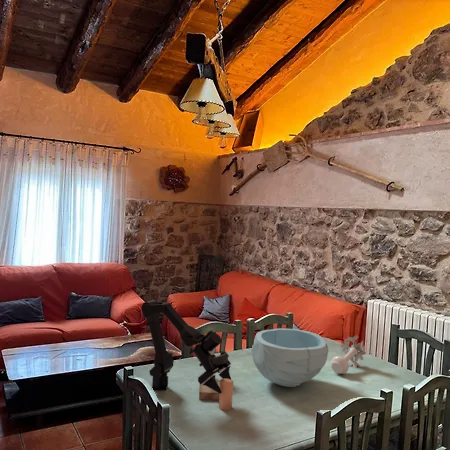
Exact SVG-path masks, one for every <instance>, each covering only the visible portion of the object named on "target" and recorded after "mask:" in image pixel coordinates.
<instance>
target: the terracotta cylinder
mask: <svg viewBox="0 0 450 450" xmlns="http://www.w3.org/2000/svg"><path fill="white" fill-rule="evenodd" d="M219 382H220V389H221V391H222V393H221V394H220V393H219V400H218V409H219V410H222V411H225V412H226V411H231V410H232V409H233V395H234V380H233V379H232V378H231V379H222V378H221V379H220V380H219Z"/></svg>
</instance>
